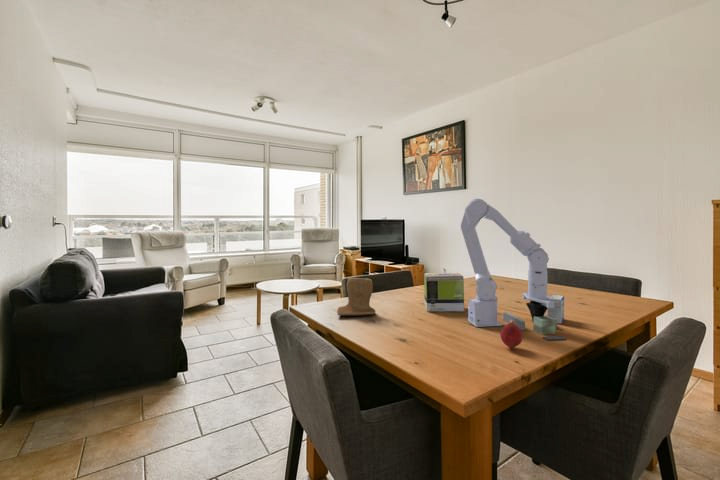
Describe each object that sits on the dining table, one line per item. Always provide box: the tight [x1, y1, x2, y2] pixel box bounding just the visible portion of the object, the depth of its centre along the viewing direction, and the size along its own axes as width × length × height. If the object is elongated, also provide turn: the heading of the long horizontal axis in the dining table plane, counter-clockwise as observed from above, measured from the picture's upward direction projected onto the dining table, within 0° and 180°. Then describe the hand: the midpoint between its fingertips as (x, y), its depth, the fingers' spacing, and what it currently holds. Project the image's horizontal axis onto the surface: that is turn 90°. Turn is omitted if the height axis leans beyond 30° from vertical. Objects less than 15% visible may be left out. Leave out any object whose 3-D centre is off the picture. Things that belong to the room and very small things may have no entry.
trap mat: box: [542, 335, 567, 342], centre depth 104 cm, size 6×2×1 cm, turn 95°
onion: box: [499, 320, 524, 350], centre depth 97 cm, size 6×6×8 cm
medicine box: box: [546, 294, 565, 325], centre depth 123 cm, size 8×4×9 cm, turn 143°
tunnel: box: [502, 311, 558, 331], centre depth 120 cm, size 12×12×3 cm
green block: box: [532, 316, 556, 335], centre depth 111 cm, size 4×4×4 cm
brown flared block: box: [336, 277, 376, 317], centre depth 136 cm, size 15×12×15 cm
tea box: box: [423, 272, 465, 312], centre depth 142 cm, size 15×10×15 cm, turn 84°
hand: (537, 324), depth 115 cm, fingers closed
